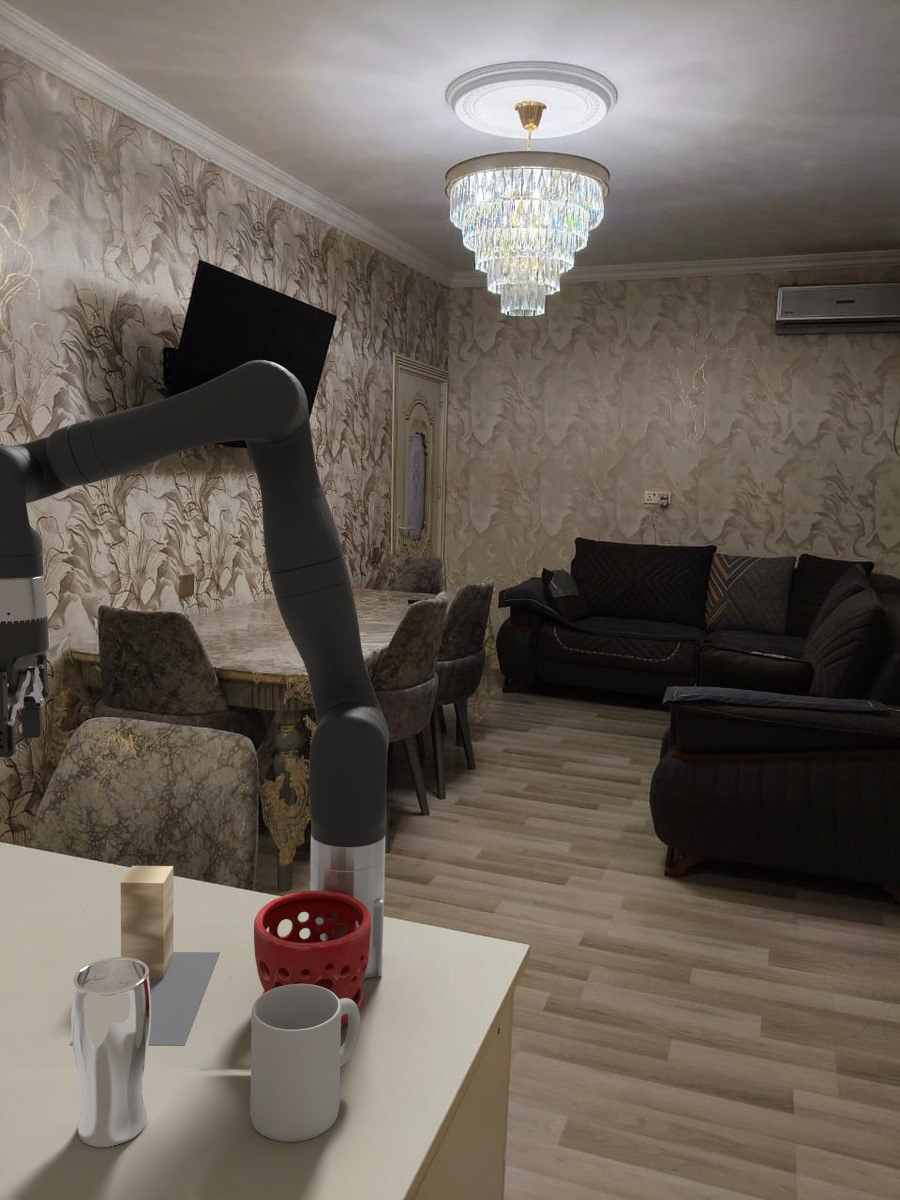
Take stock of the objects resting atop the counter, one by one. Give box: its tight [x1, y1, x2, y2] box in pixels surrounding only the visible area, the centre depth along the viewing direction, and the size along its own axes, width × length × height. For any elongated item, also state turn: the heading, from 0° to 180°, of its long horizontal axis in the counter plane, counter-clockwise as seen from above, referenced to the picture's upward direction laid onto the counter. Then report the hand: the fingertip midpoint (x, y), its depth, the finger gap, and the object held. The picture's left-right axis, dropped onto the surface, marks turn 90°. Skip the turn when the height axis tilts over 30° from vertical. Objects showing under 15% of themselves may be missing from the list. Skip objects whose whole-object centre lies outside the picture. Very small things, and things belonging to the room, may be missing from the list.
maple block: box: [120, 865, 174, 979], centre depth 116 cm, size 5×5×12 cm
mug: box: [249, 984, 361, 1143], centre depth 92 cm, size 12×8×11 cm
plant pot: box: [253, 890, 371, 1027], centre depth 108 cm, size 13×13×12 cm
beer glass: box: [70, 956, 151, 1148], centre depth 88 cm, size 7×7×15 cm
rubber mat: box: [69, 951, 221, 1046], centre depth 111 cm, size 12×20×1 cm, turn 3°
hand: (19, 746), depth 115 cm, fingers open, 8 cm apart
